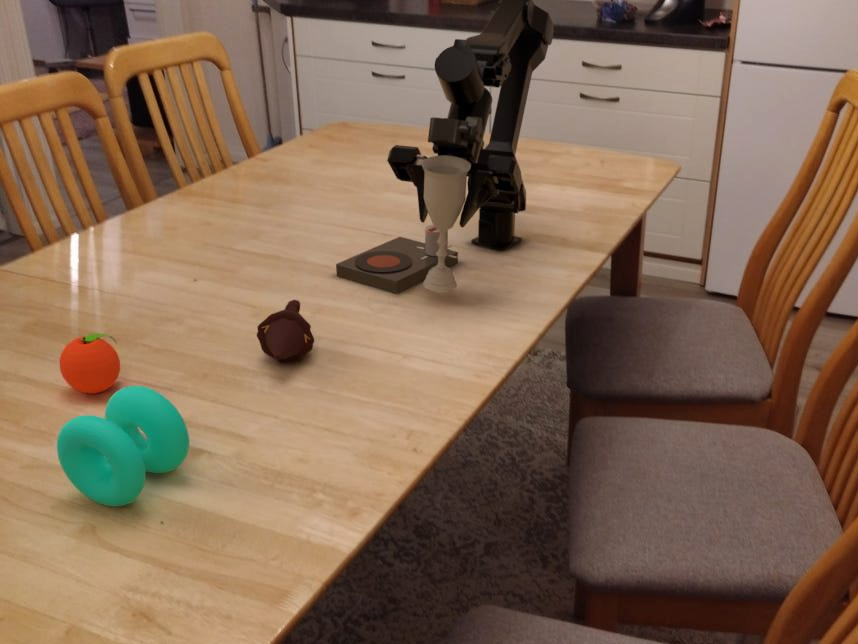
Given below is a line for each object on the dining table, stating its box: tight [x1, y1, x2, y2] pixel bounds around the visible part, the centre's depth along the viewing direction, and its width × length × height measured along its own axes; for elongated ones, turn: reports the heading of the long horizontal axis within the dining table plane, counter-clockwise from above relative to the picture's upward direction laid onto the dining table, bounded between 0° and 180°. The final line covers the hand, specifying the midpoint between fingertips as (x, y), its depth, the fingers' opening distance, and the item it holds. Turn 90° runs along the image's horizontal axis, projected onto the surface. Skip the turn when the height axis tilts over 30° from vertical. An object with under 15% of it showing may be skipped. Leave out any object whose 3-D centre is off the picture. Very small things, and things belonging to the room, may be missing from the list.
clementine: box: [59, 333, 121, 394], centre depth 122 cm, size 8×7×7 cm
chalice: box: [421, 155, 471, 293], centre depth 143 cm, size 7×7×18 cm
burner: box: [355, 251, 412, 273], centre depth 156 cm, size 9×9×1 cm
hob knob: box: [424, 224, 449, 256], centre depth 159 cm, size 4×4×4 cm
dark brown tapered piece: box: [256, 299, 315, 363], centre depth 130 cm, size 7×7×15 cm
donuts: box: [56, 385, 190, 507], centre depth 103 cm, size 10×10×10 cm
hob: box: [335, 236, 459, 295], centre depth 159 cm, size 17×13×2 cm
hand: (441, 223), depth 141 cm, fingers closed on chalice, 5 cm apart
